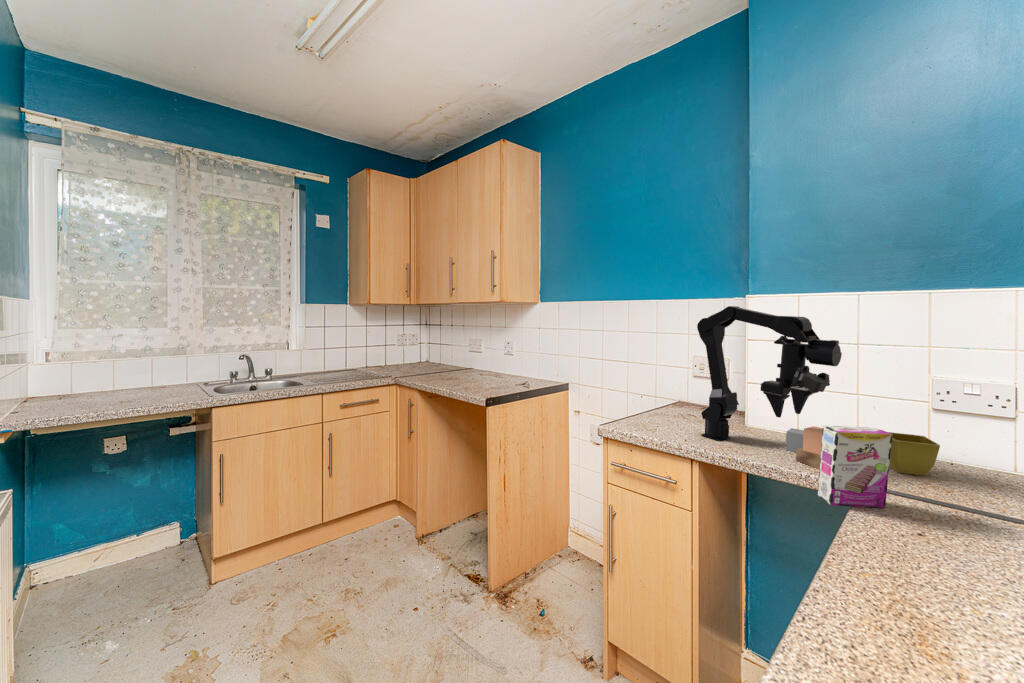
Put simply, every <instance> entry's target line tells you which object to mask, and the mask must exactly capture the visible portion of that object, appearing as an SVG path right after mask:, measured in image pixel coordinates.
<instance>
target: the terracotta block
mask: <svg viewBox="0 0 1024 683" xmlns="http://www.w3.org/2000/svg"><path fill="white" fill-rule="evenodd" d="M803 430H804V436H803V450H804V451H808V452H811V453H815V454H818V455H821V447H822V434H823V427H819V426H815V425H814V426H809V427H806V428H803Z"/></svg>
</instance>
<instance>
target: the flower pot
mask: <svg viewBox="0 0 1024 683" xmlns="http://www.w3.org/2000/svg"><path fill="white" fill-rule="evenodd" d="M887 432H888V433H890V434H892V443H891V453H890V464H889V466H890V467H891V468H892V469H894V470H895V471H896V472H897V473H900V474H906V475H907V474H908V475H915V476H920V477H923V476H925V475H927V474H928V473H929V472H930V471H931V470H932V469H933V467H934V466H935V464H936V461H937V457H938V454H939V451H940V448H941V444H939V443H937V442H936V441H933V440H932V439H930V438H929V437H927V436H925V435H917V434H909V433H900V432H899V433H898V432H891V431H890V432H889V431H887Z"/></svg>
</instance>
